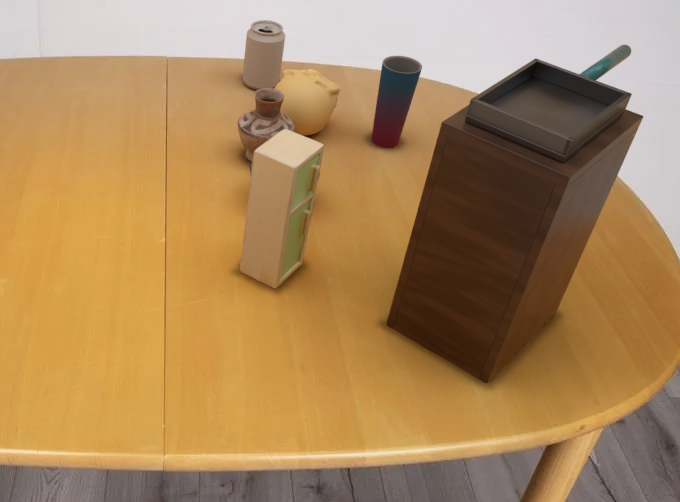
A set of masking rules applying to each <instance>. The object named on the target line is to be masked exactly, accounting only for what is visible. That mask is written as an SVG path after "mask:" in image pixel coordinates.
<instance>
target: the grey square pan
mask: <svg viewBox="0 0 680 502" xmlns="http://www.w3.org/2000/svg"><path fill="white" fill-rule="evenodd" d="M631 55H632V48H631V46H630V45H628V44H621V45H619V46H618V47H616V48H615V49H614V50H612V51H610V52H609V53H608V54H606V55H605V56H604V57H601V59H599V60H598V61H597V62H595V63H594V64H592V65H590V66H589V67H588V68H585V70H583V71H582V72H580V73H577V72H575V71H572V70H569V69H566V68H563V67H561V66H557V65H554V64H553V63H550V62H547V61H544V60H541V59H539V58H536V57H535V58H534V59H532V60H530V61H529V62H527V63H526V64H524V65H523V66H521V67H520V68H518V69H516V70H515V71H513V72H512V73H510V74H508V75H506V76H505V77H504V78H502V79H500V80H498V81H497V82H496V83H494V84H492V85H491V86H489V87H488V88H486V89H485V90H483V91H482V92H480V93H478V94H477V95H475V96H474V97H471V98H470V100H469V104H468V105H469V107H468V111H467V114H466V118H465V121H466V122H469V123H471V124H474V125H476V126H478V127H481V128H483V129H485V130H488V131H490V132H492V133H495V134H497V135H499V136H502V137H504V138H507V139H509V140H511V141H514V142H516V143H518V144H521V145H523V146H525V147H528V148H530V149H533V150H535V151H537V152H540V153H542V154H544V155H547V156H549V157H551V158H554V159H556V160H558V161H561V162H565V161H566V160H567V159H569V158H570V157H571V156H572V155H574V154H575V153H576V152H577V151H578V150H580V149H581V148H582V147H583V146H585V145H586V144H587V143H588V142H590V141H591V140H592V139H593V138H595V137H596V136H597V135H598V134H600V133H601V132H602V131H603V130H605V129H606V128H607V127H608V126H610V125H611V124H612V123H613V122H615V121H616V120H617V119H618V118H620V117H621V116H622V115H623V114H624V111H625V109H626V110H627V107H628V105H629V102H630V100H631V97H632V95H633V93H631V92H628V91H626V90H624V89H621V88H618V87H615V86H612V85H609V84H606V83H604V82H601V81H598V80H599V79H600V78H601V77H603V76H604V75H606V74H607V73H608V72H610V71H611V70H613V69H614V68H615V67H616V66H618V65H619V64H621V63H622V62H623V61H625V60H626V59H628V58H629V57H630V56H631Z"/></svg>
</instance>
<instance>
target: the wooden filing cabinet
mask: <svg viewBox="0 0 680 502" xmlns="http://www.w3.org/2000/svg"><path fill="white" fill-rule="evenodd" d="M468 107H469V104H468V105H465V106H464V107H463V108H461V109H460V110H458V111H457V112H455V113H453V114H452V115H450V116H449V117H447V118H446V119H444V120H442V121H441V124H440V127H439V131H438V135H437V138H436V141H435V145H434V148H433V153H432V156H431V159H430V164H429V167H428V171H427V174H426V178H425V180H424V181H425V182H424V184H423V188H422V189H423V190H422V192H421V196H420V200H419V204H418V207H417V210H416V215H415V218H414V221H413V225H412V229H411V233H410V235H409V240H408V244H407V247H406V251H405V254H404V258H403V261H402V265H401V269H400V273H399V276H398V280H397V282H396V283H397V284H396V286H395V287H396V288H395V290H394V295H393V298H392V302H391V305H390V309H389V313H388V316H387V320H386V323H385V324H386V326H388V327H389V328H390V329H393V330H394V331H396V332H398V333H399V334H401V335H403V336H405V337H406V338H408V339H410V340H411V341H413V342H415V343H417V344H418V345H420V346H422V347H424V348H426V349H427V350H429V351H430V352H432V353H434V354H436V355H438V356H439V357H441V358H443V360H444V359H445V360H446V361H448V362H449V363H451V364H453V365H455V366H457V367H458V368H460V369H462V370H464V371H466V372H467V373H468V374H470V375H471V376H473V377H475V378H477V379H478V380H481V381H482V382H484V383H486V384H488V383H489V382H490V381H491V380H492V379H493V378H494V377H495V376H496V375H497V374H498V373H499V372H500V371H501V370H502V369H503V368H504V367H505V366H506V365H507V364H508V363H509V362H510V361H511V360H512V359H513V358H514V357H515V356H516V355H517V354H518V352H520V351H521V350H522V348H523V347H525V346H526V345H527V344H528V343H529V341H531V339H532V338H533V337H534V336H535V335H537V334H538V333H539V331H540V330H542V328H544V327H545V325H546V324H548V322H550V321H551V319H553V317H555V315H556V313H557V311H558V310H559V307H560V305H561V302H562V300H563V297H564V295H565V294H566V291H567V289H568V287H569V284H570V282H571V280H572V278H573V276H574V273H575V272H576V268H577V266H578V264H579V262H580V259H581V257H582V255H583V253H584V251H585V248H586V246H587V244H588V242H589V240H590V237H591V236H592V233H593V230H594V228H595V226H596V224H597V221H598V219H599V217H600V216H601V213H602V212H603V211H602V210H603V208H604V206H605V204H606V202H607V199H608V198H609V195H610V193H611V190H612V188H613V186H614V184H615V181H616V180H617V177H618V175H619V172H620V171H621V168H622V166H623V164H624V161H625V159H626V158H627V154H628V152H629V150H630V148H631V146H632V143H633V141H634V139H635V136H636V135H637V132H638V130H639V127H640V125H641V123H642V121H643V118H644V115H642V114H639V113H637V112H634V111H631V110H629V109H627V108H626V109H625V111H624V114H623V115H622V116H621V117H620V118H618V119H617V120H616V121H615V122H613V123H612V124H611V125H610V126H608V127H607V128H606V129H605V130H603V131H602V132H601V133H600V134H598V135H597V136H596V137H595V138H593V139H592V140H591V141H590V142H588V143H587V144H586V145H585V146H583V147H582V148H581V149H580V150H578V151H577V152H576V153H575V154H574V155H572V156H571V157H570V158H569V159H567V160H566V161H565V162H561V161H558V160H556V159H554V158H551V157H549V156H547V155H544V154H542V153H540V152H537V151H535V150H533V149H530V148H528V147H525V146H523V145H521V144H518V143H516V142H514V141H511V140H509V139H507V138H504V137H502V136H499V135H497V134H495V133H492V132H490V131H488V130H485V129H483V128H481V127H478V126H476V125H474V124H471V123H469V122H466V121H465V118H466V114H467V111H468Z"/></svg>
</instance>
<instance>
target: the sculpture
mask: <svg viewBox="0 0 680 502" xmlns="http://www.w3.org/2000/svg"><path fill="white" fill-rule="evenodd" d="M274 89H277V90H279V91H281V92H282V93H283V94H284V100H283V102H282V105H281V108H280V111H281V112H283V113H284V114H286V115H287V116H288V117H289V118H290V119H291V120H292V121H293V123H294V125H295V130H294V132H295V133H297V134H300V135H302V136H310V135H314V134H316V133H319V132H320V131H322V130H323V129H324V128H325V126H326V125H327V124H328V122H329V120H330V119H331V117H332V115H333V113H334V111H335V109H336V107H337V106H338V105H337V104H338V99H339V97H338V96H339V95H340V91H341V88H340V87H339V85H338V84H337V83H336V82H334V81H332V80H329V79H327V78H326V77H325V76H323V75H322V73H320V72H319V71H318V70H316V69H314V68H307V69H291V68H290V69H284V70H283V71H282V78H281V79H280V80H279V83H278V84H277V85H276V86H275V87H274Z"/></svg>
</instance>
